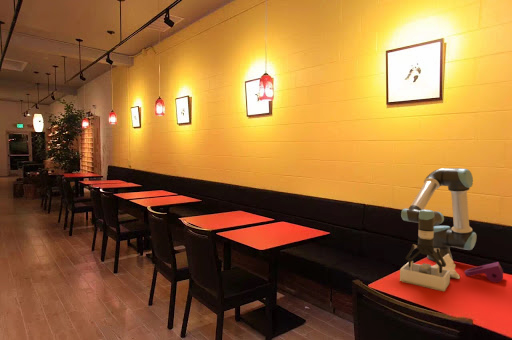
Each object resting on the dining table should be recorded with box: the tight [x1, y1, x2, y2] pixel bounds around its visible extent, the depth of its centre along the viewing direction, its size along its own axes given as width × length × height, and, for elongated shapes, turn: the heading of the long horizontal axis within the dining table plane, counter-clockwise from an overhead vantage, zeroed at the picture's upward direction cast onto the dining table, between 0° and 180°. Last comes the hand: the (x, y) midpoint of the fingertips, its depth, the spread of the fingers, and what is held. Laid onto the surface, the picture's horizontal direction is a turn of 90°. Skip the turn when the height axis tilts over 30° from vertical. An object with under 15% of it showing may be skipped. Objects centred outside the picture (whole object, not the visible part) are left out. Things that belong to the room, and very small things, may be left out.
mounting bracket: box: [464, 261, 504, 283], centre depth 191 cm, size 10×8×18 cm
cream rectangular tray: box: [399, 261, 451, 292], centre depth 183 cm, size 16×22×7 cm
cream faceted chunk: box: [431, 254, 461, 280], centre depth 194 cm, size 12×15×14 cm
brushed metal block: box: [419, 262, 432, 275], centre depth 183 cm, size 10×4×8 cm, turn 141°
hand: (424, 275), depth 183 cm, fingers open, 13 cm apart
